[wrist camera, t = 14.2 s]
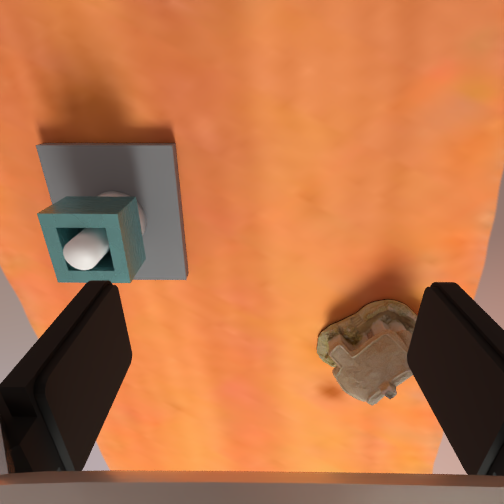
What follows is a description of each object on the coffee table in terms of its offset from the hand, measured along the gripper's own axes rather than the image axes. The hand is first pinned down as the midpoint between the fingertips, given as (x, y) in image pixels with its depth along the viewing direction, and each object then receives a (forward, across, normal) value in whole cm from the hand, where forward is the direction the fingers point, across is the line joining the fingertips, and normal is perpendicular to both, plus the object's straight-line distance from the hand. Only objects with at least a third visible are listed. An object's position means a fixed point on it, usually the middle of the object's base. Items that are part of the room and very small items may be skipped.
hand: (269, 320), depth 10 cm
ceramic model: (+29, -15, +25) cm, 41 cm away
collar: (+24, +16, +7) cm, 29 cm away
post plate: (+28, +16, +7) cm, 33 cm away
